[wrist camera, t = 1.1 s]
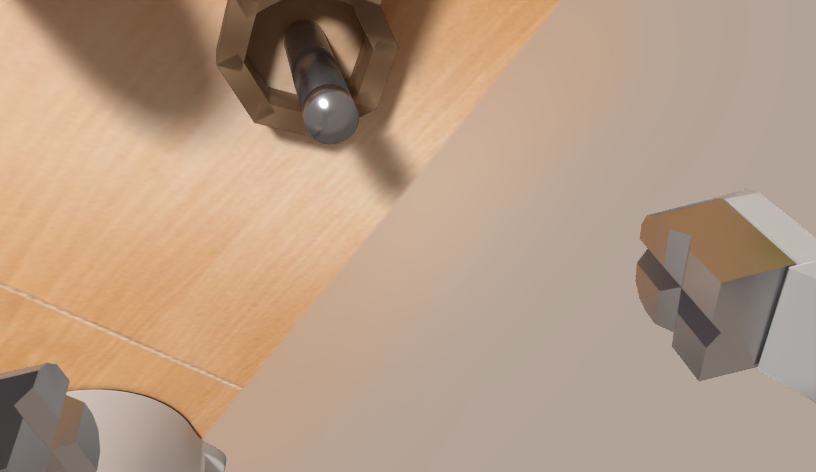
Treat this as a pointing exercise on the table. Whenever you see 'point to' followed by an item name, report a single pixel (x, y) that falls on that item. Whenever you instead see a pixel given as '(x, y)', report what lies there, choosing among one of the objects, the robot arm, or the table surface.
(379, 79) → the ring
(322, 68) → the dark grey metal cylinder
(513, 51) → the table surface
